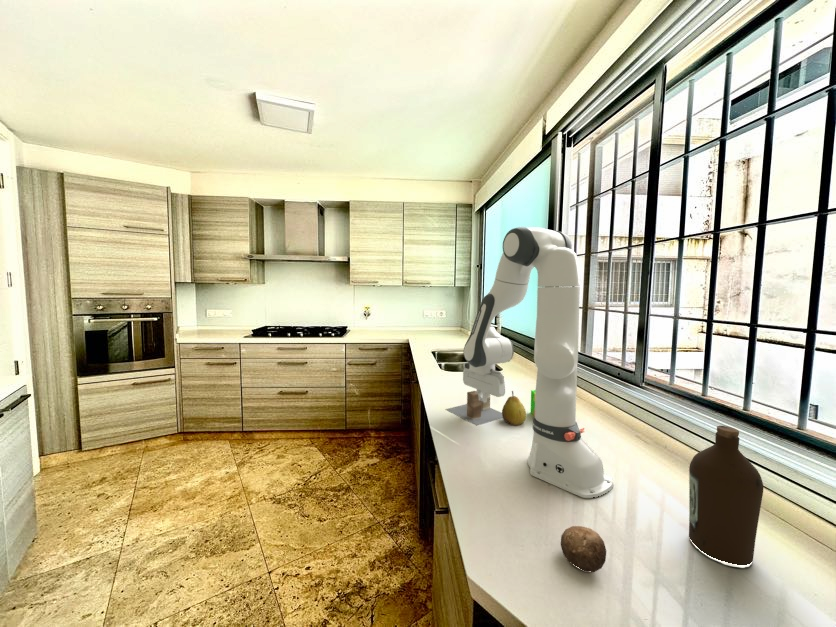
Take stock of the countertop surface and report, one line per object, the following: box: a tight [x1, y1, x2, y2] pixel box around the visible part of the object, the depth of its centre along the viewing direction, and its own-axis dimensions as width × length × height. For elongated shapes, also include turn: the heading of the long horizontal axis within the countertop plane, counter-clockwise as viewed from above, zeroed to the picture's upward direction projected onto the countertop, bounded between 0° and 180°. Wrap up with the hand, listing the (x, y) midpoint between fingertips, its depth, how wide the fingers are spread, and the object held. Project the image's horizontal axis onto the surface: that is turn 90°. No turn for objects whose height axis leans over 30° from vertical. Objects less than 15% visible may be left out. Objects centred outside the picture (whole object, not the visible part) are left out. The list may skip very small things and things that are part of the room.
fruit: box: [501, 390, 527, 426], centre depth 127 cm, size 9×9×12 cm
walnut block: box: [466, 390, 481, 419], centre depth 132 cm, size 4×4×10 cm
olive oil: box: [688, 425, 764, 565], centre depth 64 cm, size 11×11×25 cm
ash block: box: [481, 391, 491, 411], centre depth 142 cm, size 4×4×10 cm
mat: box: [445, 403, 503, 426], centre depth 137 cm, size 20×18×1 cm
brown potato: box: [560, 525, 607, 573], centre depth 63 cm, size 8×8×6 cm
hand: (482, 401), depth 128 cm, fingers closed
